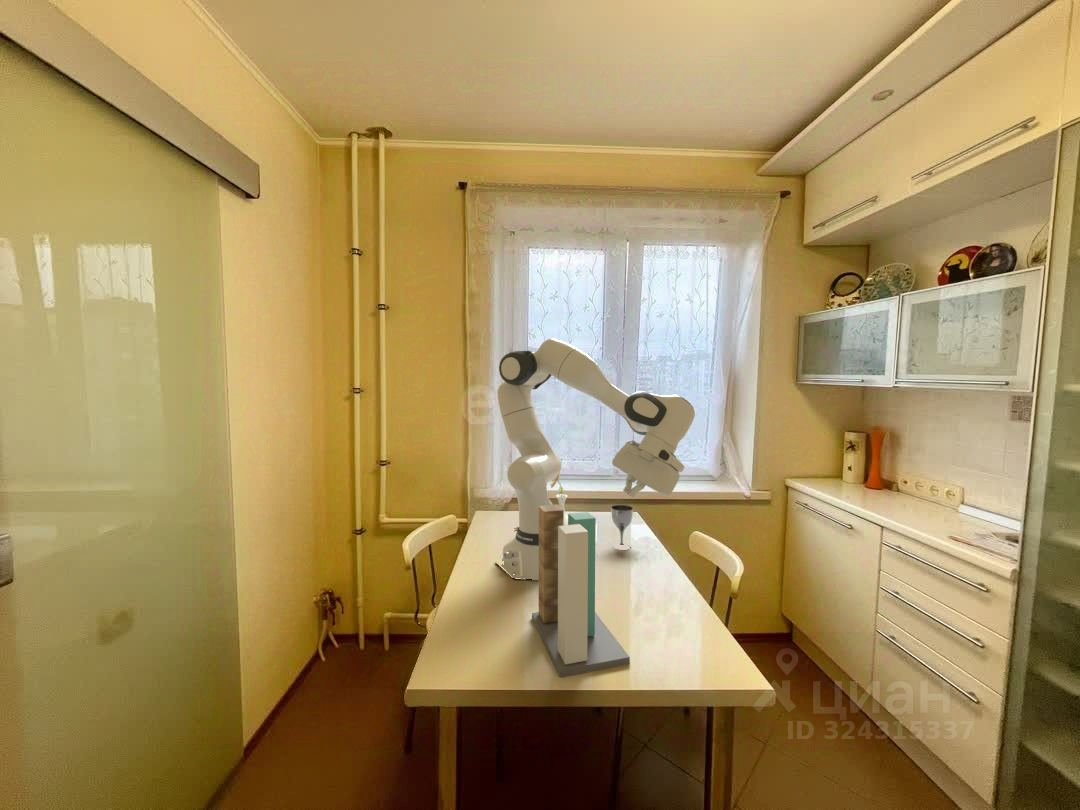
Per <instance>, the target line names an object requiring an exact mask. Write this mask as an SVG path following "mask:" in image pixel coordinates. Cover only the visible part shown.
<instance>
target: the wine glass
mask: <svg viewBox="0 0 1080 810" xmlns="http://www.w3.org/2000/svg"><path fill="white" fill-rule="evenodd" d="M610 509H611V510H610V513H611V514H610V515H611V519H612V522H613V524H614V525H615V526H616V528H617V529H618V530H619V535H620V542H619V543H620V545H624V544H625V543H624V542H623V541H624V540H623V539H624V532H625V530H627V528H628V527H629V526H630V524H631V523H632V520H633V515H634V508H633V506H631V505H628V504H614V505H611V508H610ZM623 543H624V544H623Z"/></svg>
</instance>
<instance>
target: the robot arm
mask: <svg viewBox="0 0 1080 810" xmlns="http://www.w3.org/2000/svg"><path fill="white" fill-rule="evenodd" d="M498 372H499V375H500V378H501V379H502V380H503V382H502V383H501V384H500V385H499V386H498V388H497V400H498V407H499V410H500V414H501V418H502V421H503V424H504V428H505V431H506V435H507V438H508V439H509V441H510V443H512V444H513V445H514V447H516V449H517V450H518V452H519V454H520V455H521V456H519V457H518V458H516V459H515V460H514V461H513V462H512V463H511V464H510V465H509V466H508V469H507V472H506V473H507V474H506V475H507V480H508V483H509V485H510V486H511V487H512V488H513V489H514V492H515V496H516V498H517V504H518V526H517V527H514V528H513V529H514V531H513V532H516V533H515V537H514V538H512V539H511V540H510V541H508V542H507V543H506V544H504V546H503V547H502V556H503V558H502V561H504V565H503V564H502V565H501V566H502V567H503V568H504V569H505V570H506V571H507V572H508V573H509V574H510V575H511V576H512V577H513V578H525V579H524V580H526V579H532V580H531V581H539V506H546V505H553V502H552V501H551V500H550V497H549V494H548V487H547V486H548V483H549V482H552V480H553V479H555V477H556V476H557V475H558V473H559V472H560V473H561V469H562V460H561V457H560V456H559V454H558V453H556V452H555V451H554V450H553V448H552V447H551V445H550V443H549V441H548V439H547V438H546V436H545V434H544V432H543V430H542V426H541V424H540V421H539V418H538V415H537V412H536V409H535V405H534V403H533V400H532V394H531V393H532V390H537V389H539V387H541V386H542V385H543V384H545V382H547V381H548V380H549V379H551V378H552V377H554V378H556V379H557V380H558V381H561V382H562V383H563V384H565V385H566V386H568V387H571V388H572V389H574V390H577V391H579V392H581V393H583V394H585V395H588V396H589V397H592V398H594V399H595V400H598V401H600V403H602V404H604V405H605V406H607V407H608V408H609V409H611V410H612V411H614V412H616V413H617V414H619V415H620V416H621V417H622V418H624V420H625V422H627V424H628V425H629V428H630V429H631V430H632V431H633V432H634V433H636V434H638V435H641V436H644V437H643V438H642V440H641V442H640V443H639V442H637V441H635V440H630V441H626V442H625V443H624V445H623V446H622V447H621V448H620V449H619V450H618V452H617V453H616V454H615V456H614V457H612V460H611V461H612V463H611V465H613V467H615V468H616V469H618V470H620V471H621V472H623V473H625V474H626V475H627V477H626V479H625V480H626V481H625V486H624V488H623V489H622V491H623V492H624V493H625V494H627V495H628V496H630V497H631V498H635V496H636V494H637V493H639V492H640V491H642V490H644V489H645V488H646V487H648V488H649V489H652V491H655V492H656V493H658V494H660V495H662V497H665V498H666V497H668V496H670V495H672V493H673V492H674V489H675V488H676V486H677V484H678V482H679V480H680V473H682V472H683V471H684V470H685V465H684V464H683V463H682V461H680V459H678V458H677V455H675V454H674V453H675V452H676V450H677V448H678V444H679V443H680V442H681V440H683V439H684V437H685V436H686V434H687V433H688V431H689V429H690V428H691V425H692V424H693V421H694V419H695V416H696V412H695V409H694V407H693V405H692V404H691V403H690V402H689V401H688V400H687V399H685V398H684V397H682V396H680V395H677V394H671V395H660V394H654V393H650V392H647V391H643V390H639V391H636V392H633V393H631V394H630V395H628V394H627V393H625V392H624V391H622V390H621V389H619V388H617V386H615V385H614V384H612V383H611V382H610V381H609V380H608V379H607V377H606V376H605V374H604V372H603V371H602V369H601V368H600V366H599V365H598V363H597V362H596V361H595V360H593V359H592V357H590V355H588V354H587V353H585V352H584V351H583V350H581V349H579V348H577V347H575V346H574V345H571V344H569V343H568V342H565V341H563V340H560V339H557V338H548V339H546V340H544V341H543V342H542V343H541V345H539V348H538V349H537V350H536V351H531V350H515V351H511V352H508V353H506V354H505V355H503V356H502V358H501V359H500V362H499V366H498ZM634 483H635V486H633V484H634ZM513 574H515V575H513Z"/></svg>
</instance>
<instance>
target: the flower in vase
mask: <svg viewBox="0 0 1080 810" xmlns="http://www.w3.org/2000/svg"><path fill="white" fill-rule="evenodd" d="M560 477H561V471H560V472H559V473H558V475H557V476H556V477H555V478H554V479H553V480H551V484H550V488H554V487H555V486H556V484H557V482H558V484H559V486H560V487H559V488H558V491H559V493H558V494H556V495H555V497H556V498H557V501H558V506H559V507H561V508H562V509H563V510H564V525H568V514H567V513H566V511H565V503H566V499H567V498H568V495H567V494H563V493H564V492H565V489H564V488H563V487H562V485H561V483H560V481H559V478H560Z"/></svg>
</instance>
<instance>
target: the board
mask: <svg viewBox="0 0 1080 810" xmlns="http://www.w3.org/2000/svg"><path fill="white" fill-rule="evenodd" d="M531 619H533V620H532V621H533V624H534V626H535V628H536V630H537V632H538V635H539V636H540V638H541V641H542V643H543V644H544V647H545V649H546V651H547V653H548V656H549V657H550V660H551V662H552V664H553V666H554V668H555V670H556V673H557V675H558V677H559V678H563V677H569V676H574V675H579V674H583V673H589V672H594V671H600V670H605V669H609V668H614V667H620V666H625V665H630V664H631V662H630V661H631V657H630V655H629V654H628V653H627V651H625V648H623V646H622V645H621V644H620V642H619V641H618V640H617V639H616V637H615V636H614V634H613V633H612V632H611V631H610V629H609V628H608V627H607V625H606V624H605V622H603V621H602V619H601V617H600V616H599V615H598V614H597V612H595V635H594V636H588V637H587V661H582V662H576V663H571V664H566V665H565V663H564V661H563V659H562V657H561V655H560V654H559V652H558V621H557V622H551V623H544V622H543V621H542V619H541V617H540V615H539V611H537V612H536V611H535V612H532V613H531Z"/></svg>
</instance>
